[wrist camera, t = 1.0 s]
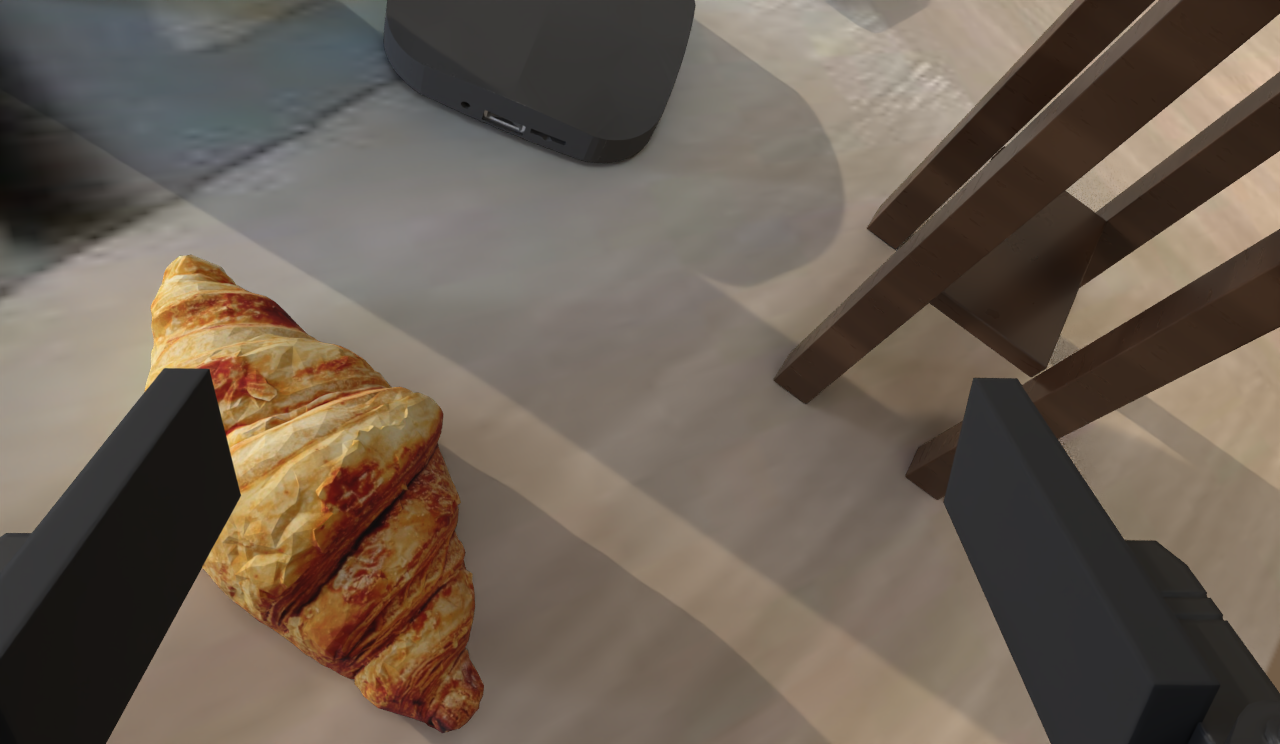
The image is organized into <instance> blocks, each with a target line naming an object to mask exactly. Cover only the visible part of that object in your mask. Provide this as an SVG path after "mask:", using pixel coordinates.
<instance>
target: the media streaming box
mask: <svg viewBox="0 0 1280 744" xmlns="http://www.w3.org/2000/svg"><path fill="white" fill-rule="evenodd" d="M694 11H695V0H387V8H386V17H385V26H384V48H385V52H386V55H387V57H388V60H389V62H390V64H391V65H392V67H393V68H394V70H395V71H396V73H397V74H398V75H399V76H400V77H401V78H402V79H403V80H404V81H405V82H406V83H407V84H408V85H409V86H410V87H412V88H413V89H414V90H416V91H417V92H419V93H420V94H422V95H425V96H427V97H429V98H431V99H433V100H435V101H437V102H440V103H442V104H444V105H446V106H448V107H450V108H453V109H455V110H457V111H459V112H462V113H464V114H466V115H468V116H471V117H473V118H475V119H478V120H480V121H482V122H485V123H487V124H489V125H492V126H494V127H496V128H499V129H501V130H504V131H506V132H509V133H511V134H513V135H516V136H518V137H521V138H523V139H526V140H529V141H531V142H534V143H536V144H539V145H541V146H544V147H547V148H549V149H552V150H555V151H557V152H560V153H563V154H566V155H568V156H571V157H574V158H577V159H580V160H582V161H587V162H595V163H610V162H616V161H620V160H624V159H627V158H629V157H631V156H633V155H635V154H636V153H638V152H639V151H640V150H641V149H642V148H643V147H644V146H645V145H646V144H647V143H648V141H649V139H650V138H651V136H652V134H653V132H654V130H655V128H656V126H657V124H658V122H659V120H660V118H661V116H662V114H663V111H664V109H665V106H666V104H667V101H668V99H669V96H670V94H671V91H672V89H673V86H674V83H675V80H676V78H677V75H678V72H679V69H680V66H681V63H682V60H683V56H684V53H685V50H686V46H687V43H688V39H689V35H690V31H691V26H692V22H693V17H694Z"/></svg>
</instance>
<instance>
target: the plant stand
mask: <svg viewBox="0 0 1280 744" xmlns="http://www.w3.org/2000/svg"><path fill="white" fill-rule="evenodd" d="M1154 1H1155V0H1075V1H1074V2H1073V3H1072V4H1071V5H1070V6H1069V7H1068V8H1067V9H1066V10H1065V11H1064V12H1063V13H1062V14H1061V16H1060V17H1059V18H1058V19H1057V20H1056V21H1055V22H1054V23H1053V24H1052V25H1051V26H1050V27H1049V28H1048V29H1047V30H1046V31H1045V32H1044V34H1043V35H1042V36H1041V37H1040V38H1039V39H1038V40H1037V41H1036V42H1035V43H1034V44H1033V45H1032V46H1031V47H1030V48H1029V49H1028V50H1027V52H1026V53H1025V54H1024V55H1023V56H1022V57H1021V58H1020V59H1019V60H1018V61H1017V62H1016V63H1015V64H1014V65H1013V66H1012V67H1011V68H1010V70H1009V71H1008V72H1007V73H1006V74H1005V75H1004V76H1003V77H1002V78H1001V79H1000V80H999V81H998V82H997V83H996V84H995V85H994V86H993V88H992V89H991V90H990V91H989V92H988V93H987V94H986V95H985V96H984V97H983V98H982V99H981V100H980V101H979V102H978V103H977V104H976V106H975V107H974V108H973V109H972V110H971V111H970V112H969V113H968V114H967V115H966V116H965V117H964V118H963V119H962V120H961V121H960V122H959V124H958V125H957V126H956V127H955V128H954V129H953V130H952V131H951V132H950V133H949V134H948V135H947V136H946V137H945V138H944V139H943V140H942V142H941V143H940V144H939V145H938V146H937V147H936V148H935V149H934V150H933V151H932V152H931V153H930V154H929V155H928V156H927V157H926V158H925V160H924V161H923V162H922V163H921V164H920V165H919V166H918V167H917V168H916V169H915V170H914V171H913V172H912V173H911V174H910V175H909V176H908V178H907V179H906V180H905V181H904V182H903V183H902V184H901V185H900V186H899V187H898V188H897V189H896V190H895V191H894V192H893V193H892V194H891V196H890V197H889V198H888V199H887V200H886V201H885V202H884V203H883V204H882V205H881V206H880V208H879V209H878V211H877V212H876V214H875V216H874V217H873V219H872V221H871V222H870V224H869V225H868V227H867V229H869V230H870V231H871V232H873V233H874V234H875V235H877V236H878V237H879V238H881V239H882V240H883V241H885V242H886V243H888V244H889V245H890V246H892V247H893V248H894V249H897V248H898V247H899V246H900V245H901V244H902V243H903V242H904V241H905V240H906V239H907V238H908V237H909V236H910V235H911V234H912V233H913V232H914V231H915V230H916V229H917V228H918V227H919V226H920V225H922V224H923V223H924V222H925V221H926V220H927V219H928V218H929V217H930V216H931V215H932V214H933V213H934V212H935V211H936V210H937V209H938V208H939V207H940V206H941V205H942V204H943V203H944V202H945V201H947V200H948V199H949V198H950V197H951V196H952V195H953V194H954V193H955V192H956V191H957V190H958V189H959V188H960V187H961V186H962V185H963V184H964V183H965V182H966V181H967V180H968V179H969V178H970V177H972V176H973V175H974V174H975V173H976V172H977V171H978V170H979V169H980V168H981V167H982V166H983V165H984V164H985V163H986V162H987V161H988V160H989V159H990V158H991V157H992V156H993V155H994V154H995V153H996V154H995V155H994V156H993V157H992V159H991V161H990V162H989V163H988V164H987V165H986V166H985V167H984V168H983V169H982V170H981V171H980V172H979V173H978V174H977V175H976V176H975V177H974V178H973V179H972V180H971V181H970V182H969V183H967V184H966V185H965V186H964V187H963V188H962V189H961V190H960V191H959V192H958V193H957V194H956V195H955V196H954V197H953V198H952V199H951V200H950V201H949V202H948V203H947V204H945V205H944V206H943V207H942V208H941V209H940V210H939V211H938V212H937V213H936V214H935V215H934V216H933V217H932V218H931V219H930V220H929V221H928V222H927V223H926V224H925V225H923V226H922V227H921V228H920V229H919V230H918V231H917V232H916V233H915V234H914V235H913V236H912V237H911V238H910V239H909V240H908V241H907V242H906V243H905V244H904V245H903V246H902V247H900V248H899V249H898V250H897V251H896V252H895V253H894V254H893V255H892V256H891V257H890V258H889V259H888V260H887V261H886V262H885V263H884V264H883V265H882V266H881V267H880V268H878V269H877V270H876V271H875V272H874V273H873V274H872V275H871V276H870V277H869V278H868V279H867V280H866V281H865V282H864V283H863V284H862V285H861V286H860V287H859V288H858V289H857V290H855V291H854V292H853V293H852V294H851V295H850V296H849V297H848V298H847V299H846V300H845V301H844V302H843V303H842V304H841V305H840V306H839V307H838V308H837V309H836V310H835V311H833V312H832V313H831V314H830V315H829V316H828V317H827V318H826V319H825V320H824V321H823V322H822V323H821V324H820V325H819V326H818V327H817V328H816V329H815V330H814V331H813V332H811V333H810V334H809V335H808V336H807V337H806V338H805V339H804V340H803V341H802V342H801V343H800V344H799V345H798V346H797V347H796V348H795V349H794V350H793V351H792V352H791V353H790V354H789V356H788V357H787V359H786V361H785V362H784V364H783V365H782V367H781V369H780V370H779V372H778V374H777V375H776V377H775V378H774V381H775V382H776V383H778V384H779V385H780V386H782V387H783V388H784V389H786V390H787V391H789V392H790V393H791V394H793V395H794V396H795V397H797V398H798V399H799V400H801V401H802V402H804V403H805V404H807V403H808V402H809V401H810V400H812V399H813V398H814V397H815V396H817V395H818V394H819V393H820V392H821V391H823V390H824V389H825V388H826V387H827V386H829V385H830V384H831V383H832V382H834V381H835V380H836V379H837V378H838V377H840V376H841V375H842V374H843V373H844V372H846V371H847V370H848V369H849V368H850V367H852V366H853V365H854V364H855V363H857V362H858V361H859V360H860V359H861V358H863V357H864V356H865V355H866V354H867V353H869V352H870V351H871V350H872V349H874V348H875V347H876V346H877V345H878V344H880V343H881V342H882V341H883V340H884V339H886V338H887V337H888V336H889V335H891V334H892V333H893V332H894V331H895V330H897V329H898V328H899V327H900V326H901V325H903V324H904V323H905V322H906V321H908V320H909V319H910V318H911V317H912V316H914V315H915V314H916V313H917V312H918V311H920V310H921V309H922V308H923V307H924V306H926V305H927V304H928V303H930V304H931V305H933V306H934V307H936V308H937V309H938V310H940V311H941V312H942V313H944V314H945V315H946V316H948V317H949V318H951V319H952V320H953V321H955V322H956V323H957V324H959V325H960V326H961V327H963V328H964V329H966V330H967V331H968V332H970V333H971V334H972V335H974V336H975V337H976V338H978V339H979V340H980V341H982V342H983V343H985V344H986V345H987V346H989V347H990V348H991V349H993V350H994V351H995V352H997V353H998V354H1000V355H1001V356H1002V357H1004V358H1005V359H1006V360H1008V361H1009V362H1010V363H1012V364H1013V365H1015V366H1016V367H1017V368H1019V369H1020V370H1021V371H1023V372H1024V373H1025V374H1027V375H1028V376H1030V377H1033V376H1035V375H1036V374H1038V373H1040V372H1041V371H1043V370H1045V369H1046V368H1047V365H1048V363H1049V360H1050V358H1051V355H1052V353H1053V351H1054V348H1055V346H1056V343H1057V341H1058V338H1059V336H1060V334H1061V331H1062V329H1063V326H1064V324H1065V321H1066V319H1067V316H1068V314H1069V312H1070V309H1071V307H1072V304H1073V302H1074V299H1075V297H1076V294H1077V292H1078V290H1079V288H1080V287H1082V286H1083V285H1085V284H1086V283H1087V282H1089V281H1090V280H1092V279H1093V278H1095V277H1096V276H1098V275H1099V274H1101V273H1102V272H1104V271H1105V270H1106V269H1108V268H1109V267H1111V266H1112V265H1114V264H1115V263H1117V262H1118V261H1120V260H1121V259H1122V258H1124V257H1125V256H1127V255H1128V254H1130V253H1131V252H1133V251H1134V250H1136V249H1137V248H1139V247H1140V246H1141V245H1143V244H1144V243H1146V242H1147V241H1149V240H1150V239H1152V238H1153V237H1155V236H1156V235H1158V234H1159V233H1160V232H1162V231H1163V230H1165V229H1166V228H1168V227H1169V226H1171V225H1172V224H1174V223H1175V222H1177V221H1178V220H1179V219H1181V218H1182V217H1184V216H1185V215H1187V214H1188V213H1190V212H1191V211H1193V210H1194V209H1196V208H1197V207H1198V206H1200V205H1201V204H1203V203H1204V202H1206V201H1207V200H1209V199H1210V198H1212V197H1213V196H1215V195H1216V194H1217V193H1219V192H1220V191H1222V190H1223V189H1225V188H1226V187H1228V186H1229V185H1231V184H1232V183H1233V182H1235V181H1236V180H1238V179H1239V178H1241V177H1242V176H1244V175H1245V174H1247V173H1248V172H1250V171H1251V170H1252V169H1254V168H1255V167H1257V166H1258V165H1260V164H1261V163H1263V162H1264V161H1266V160H1267V159H1269V158H1270V157H1271V156H1273V155H1274V154H1276V153H1277V152H1279V151H1280V72H1279V73H1277V74H1276V75H1275V76H1274V77H1272V78H1271V79H1270V80H1268V81H1267V82H1266V83H1264V84H1263V85H1262V86H1260V87H1259V88H1258V89H1257V90H1255V91H1254V92H1253V93H1251V94H1250V95H1249V96H1247V97H1246V98H1245V99H1243V100H1242V101H1241V102H1240V103H1238V104H1237V105H1236V106H1234V107H1233V108H1232V109H1230V110H1229V111H1228V112H1227V113H1225V114H1224V115H1223V116H1221V117H1220V118H1219V119H1217V120H1216V121H1215V122H1213V123H1212V124H1211V125H1210V126H1208V127H1207V128H1206V129H1204V130H1203V131H1202V132H1200V133H1199V134H1198V135H1196V136H1195V137H1194V138H1193V139H1191V140H1190V141H1189V142H1187V143H1186V144H1185V145H1183V146H1182V147H1181V148H1179V149H1178V150H1177V151H1176V152H1174V153H1173V154H1172V155H1170V156H1169V157H1168V158H1166V159H1165V160H1164V161H1162V162H1161V163H1160V164H1159V165H1157V166H1156V167H1155V168H1153V169H1152V170H1151V171H1149V172H1148V173H1147V174H1145V175H1144V176H1143V177H1142V178H1140V179H1139V180H1138V181H1136V182H1135V183H1134V184H1132V185H1131V186H1130V187H1128V188H1127V189H1126V190H1125V191H1123V192H1122V193H1121V194H1119V195H1118V196H1117V197H1115V198H1114V199H1113V200H1112V201H1110V202H1109V203H1108V204H1106V205H1105V206H1104V207H1102V208H1101V209H1100V210H1098V211H1097V212H1096V213H1095V212H1094V211H1092V210H1091V209H1090V208H1088V207H1087V206H1085V205H1084V204H1083V203H1081V202H1080V201H1079V200H1077V199H1076V198H1075V197H1073V196H1072V195H1071V194H1069V193H1068V192H1066V191H1065V190H1066V189H1068V188H1069V187H1070V186H1071V185H1072V184H1074V183H1075V182H1076V181H1077V180H1079V179H1080V178H1081V177H1082V176H1083V175H1085V174H1086V173H1087V172H1088V171H1089V170H1091V169H1092V168H1093V167H1094V166H1096V165H1097V164H1098V163H1099V162H1100V161H1102V160H1103V159H1104V158H1105V157H1106V156H1108V155H1109V154H1110V153H1111V152H1112V151H1114V150H1115V149H1116V148H1117V147H1119V146H1120V145H1121V144H1122V143H1123V142H1125V141H1126V140H1127V139H1128V138H1129V137H1131V136H1132V135H1133V134H1134V133H1136V132H1137V131H1138V130H1139V129H1140V128H1142V127H1143V126H1144V125H1145V124H1146V123H1148V122H1149V121H1150V120H1151V119H1153V118H1154V117H1155V116H1156V115H1157V114H1159V113H1160V112H1161V111H1162V110H1163V109H1165V108H1166V107H1167V106H1168V105H1169V104H1171V103H1172V102H1173V101H1174V100H1176V99H1177V98H1178V97H1179V96H1180V95H1182V94H1183V93H1184V92H1185V91H1186V90H1188V89H1189V88H1190V87H1191V86H1193V85H1194V84H1195V83H1196V82H1197V81H1199V80H1200V79H1201V78H1202V77H1203V76H1205V75H1206V74H1207V73H1208V72H1210V71H1211V70H1212V69H1213V68H1214V67H1216V66H1217V65H1218V64H1219V63H1220V62H1222V61H1223V60H1224V59H1225V58H1227V57H1228V56H1229V55H1230V54H1231V53H1233V52H1234V51H1235V50H1236V49H1237V48H1239V47H1240V46H1241V45H1242V44H1243V43H1245V42H1246V41H1247V40H1248V39H1250V38H1251V37H1252V36H1253V35H1254V34H1256V33H1257V32H1258V31H1259V30H1260V29H1262V28H1263V27H1264V26H1265V25H1267V24H1268V23H1269V22H1270V21H1271V20H1273V19H1274V18H1275V17H1276V16H1277V15H1279V14H1280V0H1159V1H1158V2H1157V3H1156V4H1155V5H1154V6H1153V7H1152V8H1151V9H1150V10H1149V11H1148V12H1146V13H1145V14H1144V15H1143V16H1142V17H1141V18H1140V19H1139V20H1138V21H1137V22H1136V23H1135V24H1134V25H1133V26H1132V27H1131V28H1130V29H1129V30H1128V31H1127V32H1126V33H1124V34H1123V35H1122V36H1121V37H1120V38H1119V39H1118V40H1117V41H1116V42H1115V43H1114V44H1113V45H1112V46H1111V47H1110V48H1109V49H1108V50H1107V51H1106V52H1105V53H1104V54H1103V55H1101V56H1100V57H1099V58H1098V59H1097V60H1096V61H1095V62H1094V63H1093V64H1092V65H1091V66H1090V67H1089V68H1088V69H1087V70H1086V71H1085V72H1084V73H1083V74H1082V75H1081V76H1079V77H1078V78H1077V79H1076V80H1075V81H1074V82H1073V83H1072V84H1071V85H1070V86H1069V87H1068V88H1067V89H1066V90H1065V91H1064V92H1063V93H1062V94H1061V95H1060V96H1059V97H1057V98H1056V99H1055V100H1054V101H1053V102H1052V103H1051V104H1050V105H1049V106H1048V107H1047V108H1046V109H1045V110H1044V111H1043V112H1042V113H1041V114H1040V115H1039V116H1038V117H1037V118H1036V119H1034V120H1033V121H1032V122H1031V123H1030V124H1029V125H1028V126H1027V127H1026V128H1025V129H1024V130H1023V131H1022V132H1021V133H1020V134H1019V135H1018V136H1017V137H1016V138H1015V139H1014V140H1012V141H1011V142H1010V143H1009V144H1008V145H1007V146H1006V147H1005V146H1004V145H1005V144H1006V143H1007V142H1008V141H1009V140H1010V139H1011V138H1012V137H1013V136H1014V135H1015V134H1016V133H1017V132H1018V131H1019V130H1020V129H1022V128H1023V127H1024V126H1025V125H1026V124H1027V123H1028V122H1029V121H1030V120H1031V119H1032V118H1033V117H1034V116H1035V115H1036V114H1037V113H1038V112H1039V111H1040V110H1041V109H1042V108H1043V107H1044V106H1045V105H1047V104H1048V103H1049V102H1050V101H1051V100H1052V99H1053V98H1054V97H1055V96H1056V95H1057V94H1058V93H1059V92H1060V91H1061V90H1062V89H1063V88H1064V87H1065V86H1066V85H1067V84H1068V83H1069V82H1070V81H1072V80H1073V79H1074V78H1075V77H1076V76H1077V75H1078V74H1079V73H1080V72H1081V71H1082V70H1083V69H1084V68H1085V67H1086V66H1087V65H1088V64H1089V63H1090V62H1091V61H1092V60H1093V59H1094V58H1095V57H1097V56H1098V55H1099V54H1100V53H1101V52H1102V51H1103V50H1104V49H1105V48H1106V47H1107V46H1108V45H1109V44H1110V43H1111V42H1112V41H1113V40H1114V39H1115V38H1116V37H1117V36H1118V35H1119V34H1121V33H1122V32H1123V31H1124V30H1125V29H1126V28H1127V27H1128V26H1129V25H1130V24H1131V23H1132V22H1133V21H1134V20H1135V19H1136V18H1137V17H1138V16H1139V15H1140V14H1141V13H1142V12H1143V11H1144V10H1146V9H1147V8H1148V7H1149V6H1150V5H1151V4H1152V3H1153V2H1154ZM1003 146H1004V147H1003ZM1002 147H1003V148H1002ZM1001 148H1002V149H1001ZM1000 149H1001V150H1000ZM999 150H1000V151H999ZM998 151H999V152H998ZM1279 327H1280V229H1279V230H1277V231H1276V232H1274V233H1272V234H1271V235H1269V236H1267V237H1266V238H1264V239H1263V240H1261V241H1259V242H1258V243H1256V244H1254V245H1253V246H1251V247H1249V248H1248V249H1246V250H1244V251H1243V252H1241V253H1239V254H1238V255H1236V256H1234V257H1233V258H1231V259H1229V260H1228V261H1226V262H1225V263H1223V264H1221V265H1220V266H1218V267H1216V268H1215V269H1213V270H1211V271H1210V272H1208V273H1206V274H1205V275H1203V276H1201V277H1200V278H1198V279H1196V280H1195V281H1193V282H1191V283H1190V284H1188V285H1187V286H1185V287H1183V288H1182V289H1180V290H1178V291H1177V292H1175V293H1173V294H1172V295H1170V296H1168V297H1167V298H1165V299H1163V300H1162V301H1160V302H1158V303H1157V304H1155V305H1153V306H1152V307H1150V308H1148V309H1147V310H1145V311H1144V312H1142V313H1140V314H1139V315H1137V316H1135V317H1134V318H1132V319H1130V320H1129V321H1127V322H1125V323H1124V324H1122V325H1120V326H1119V327H1117V328H1115V329H1114V330H1112V331H1110V332H1109V333H1107V334H1106V335H1104V336H1102V337H1101V338H1099V339H1097V340H1096V341H1094V342H1092V343H1091V344H1089V345H1087V346H1086V347H1084V348H1082V349H1081V350H1079V351H1077V352H1076V353H1074V354H1072V355H1071V356H1069V357H1067V358H1066V359H1064V360H1063V361H1061V362H1059V363H1058V364H1056V365H1054V366H1053V367H1051V368H1049V369H1048V370H1046V371H1044V372H1043V373H1041V374H1039V375H1038V376H1036V377H1034V378H1033V379H1031V380H1029V381H1028V382H1026V383H1025V384H1023V385H1022V387H1023V388H1024V390H1025V391H1026V393H1027V394H1028V396H1029V397H1030V399H1031V400H1032V402H1033V403H1034V405H1035V406H1036V408H1037V409H1038V411H1039V412H1040V414H1041V415H1042V417H1043V418H1044V420H1045V421H1046V423H1047V424H1048V426H1049V427H1050V429H1051V430H1052V432H1053V433H1054V435H1055V436H1056V438H1057V439H1059V438H1061V437H1063V436H1065V435H1067V434H1069V433H1071V432H1073V431H1075V430H1077V429H1079V428H1081V427H1083V426H1085V425H1087V424H1089V423H1091V422H1093V421H1094V420H1096V419H1098V418H1100V417H1102V416H1104V415H1106V414H1108V413H1110V412H1112V411H1114V410H1116V409H1118V408H1120V407H1122V406H1124V405H1126V404H1128V403H1130V402H1132V401H1134V400H1136V399H1138V398H1140V397H1142V396H1144V395H1146V394H1148V393H1150V392H1152V391H1154V390H1156V389H1158V388H1160V387H1162V386H1164V385H1166V384H1168V383H1170V382H1172V381H1174V380H1176V379H1178V378H1180V377H1182V376H1184V375H1186V374H1187V373H1189V372H1191V371H1193V370H1195V369H1197V368H1199V367H1201V366H1203V365H1205V364H1207V363H1209V362H1211V361H1213V360H1215V359H1217V358H1219V357H1221V356H1223V355H1225V354H1227V353H1229V352H1231V351H1233V350H1235V349H1237V348H1239V347H1241V346H1243V345H1245V344H1247V343H1249V342H1251V341H1253V340H1255V339H1257V338H1259V337H1261V336H1263V335H1265V334H1267V333H1269V332H1271V331H1273V330H1275V329H1277V328H1279ZM962 423H963V421H962V422H960V423H958V424H957V425H955V426H953V427H952V428H950V429H948V430H947V431H945V432H944V433H942V434H940V435H939V436H937V437H935V438H934V439H932V440H930V441H929V442H927V443H925V444H924V445H922V446H920V447H919V449H918V451H917V453H916V455H915V457H914V459H913V461H912V463H911V465H910V467H909V470H908V472H907V474H906V477H907V478H908V479H909V480H911V481H912V482H913V483H915V484H916V485H917V486H919V487H920V488H922V489H923V490H924V491H926V492H927V493H928V494H930V495H931V496H933V497H934V498H935V499H937V500H938V499H940V498H942V497H944V496H945V494H946V490H947V486H948V481H949V477H950V473H951V469H952V465H953V461H954V457H955V452H956V448H957V444H958V440H959V436H960V432H961V427H962Z"/></svg>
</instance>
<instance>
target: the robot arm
mask: <svg viewBox="0 0 1280 744" xmlns="http://www.w3.org/2000/svg"><path fill="white" fill-rule="evenodd" d="M240 497H241V493H240V489H239V485H238V481H237V477H236V473H235V469H234V465H233V461H232V457H231V453H230V449H229V445H228V441H227V437H226V433H225V429H224V425H223V421H222V417H221V413H220V409H219V405H218V401H217V397H216V393H215V389H214V385H213V381H212V377H211V373H210V369H195V368H164V369H163V370H162V371H161V372H160V374H159V375H158V376H157V377H156V379H155V380H154V381H153V382H152V384H151V385H150V386H149V387H148V389H147V390H146V391H145V392H144V394H143V395H142V396H141V397H140V399H139V400H138V401H137V402H136V404H135V405H134V406H133V407H132V409H131V410H130V411H129V412H128V414H127V415H126V416H125V417H124V419H123V420H122V421H121V422H120V424H119V425H118V426H117V427H116V429H115V430H114V431H113V432H112V434H111V435H110V436H109V437H108V439H107V440H106V441H105V442H104V444H103V445H102V446H101V447H100V449H99V450H98V451H97V452H96V454H95V455H94V456H93V457H92V459H91V460H90V461H89V462H88V464H87V465H86V466H85V467H84V469H83V470H82V471H81V472H80V474H79V475H78V476H77V477H76V479H75V480H74V481H73V482H72V484H71V485H70V486H69V487H68V489H67V490H66V491H65V492H64V494H63V495H62V496H61V497H60V499H59V500H58V501H57V502H56V504H55V505H54V506H53V507H52V509H51V510H50V511H49V512H48V514H47V515H46V516H45V517H44V519H43V520H42V521H41V522H40V524H39V525H38V526H37V527H36V529H35V530H34V531H33V532H32V533H6V534H4V535H3V536H1V537H0V744H106V742H107V741H108V739H109V737H110V735H111V733H112V731H113V730H114V728H115V726H116V724H117V722H118V720H119V719H120V717H121V715H122V713H123V711H124V709H125V708H126V706H127V704H128V702H129V700H130V698H131V697H132V695H133V693H134V691H135V689H136V687H137V686H138V684H139V682H140V680H141V678H142V677H143V675H144V673H145V671H146V669H147V667H148V666H149V664H150V662H151V660H152V658H153V656H154V655H155V653H156V651H157V649H158V647H159V645H160V644H161V642H162V640H163V638H164V636H165V634H166V633H167V631H168V629H169V627H170V625H171V623H172V622H173V620H174V618H175V616H176V614H177V612H178V611H179V609H180V607H181V605H182V603H183V601H184V600H185V598H186V596H187V594H188V592H189V590H190V589H191V587H192V585H193V583H194V581H195V579H196V578H197V576H198V574H199V572H200V570H201V568H202V567H203V565H204V563H205V561H206V559H207V557H208V556H209V554H210V552H211V550H212V548H213V546H214V545H215V543H216V541H217V539H218V537H219V535H220V534H221V532H222V530H223V528H224V526H225V524H226V523H227V521H228V519H229V517H230V515H231V513H232V512H233V510H234V508H235V506H236V504H237V502H238V501H239V499H240ZM944 505H945V507H946V509H947V511H948V514H949V516H950V518H951V520H952V523H953V525H954V527H955V529H956V532H957V534H958V536H959V538H960V540H961V543H962V545H963V547H964V549H965V552H966V554H967V556H968V558H969V561H970V563H971V565H972V567H973V570H974V572H975V574H976V576H977V579H978V581H979V583H980V585H981V588H982V590H983V592H984V594H985V597H986V599H987V601H988V603H989V606H990V608H991V610H992V612H993V615H994V617H995V619H996V621H997V624H998V626H999V628H1000V630H1001V633H1002V635H1003V637H1004V639H1005V642H1006V644H1007V646H1008V648H1009V650H1010V653H1011V655H1012V657H1013V659H1014V662H1015V664H1016V666H1017V668H1018V671H1019V673H1020V675H1021V677H1022V680H1023V682H1024V684H1025V686H1026V689H1027V691H1028V693H1029V695H1030V698H1031V700H1032V702H1033V704H1034V707H1035V709H1036V711H1037V713H1038V716H1039V718H1040V720H1041V722H1042V725H1043V727H1044V729H1045V731H1046V734H1047V736H1048V738H1049V740H1050V743H1051V744H1280V693H1279V692H1278V690H1277V689H1276V688H1275V686H1274V685H1273V684H1272V682H1271V681H1270V679H1269V678H1268V676H1267V675H1266V674H1265V672H1264V671H1263V670H1262V668H1261V667H1260V665H1259V664H1258V663H1257V661H1256V660H1255V658H1254V657H1253V656H1252V654H1251V653H1250V652H1249V650H1248V649H1247V647H1246V646H1245V645H1244V643H1243V642H1242V640H1241V639H1240V638H1239V636H1238V635H1237V634H1236V632H1235V631H1234V629H1233V628H1232V627H1231V625H1230V624H1229V623H1228V621H1224V620H1223V614H1222V613H1221V611H1220V610H1219V609H1218V607H1217V606H1216V605H1215V603H1214V602H1213V600H1212V599H1211V598H1207V595H1206V594H1207V592H1206V591H1205V589H1204V588H1203V587H1202V585H1201V584H1200V582H1199V581H1198V580H1197V578H1196V577H1195V576H1194V574H1193V573H1192V571H1191V570H1190V569H1189V567H1188V566H1187V565H1186V564H1185V563H1184V562H1182V561H1181V560H1180V559H1179V558H1177V557H1176V556H1175V555H1173V554H1172V553H1171V552H1170V551H1168V550H1167V549H1166V548H1164V547H1163V546H1162V545H1161V544H1159V543H1158V542H1157V541H1135V540H1124V539H1123V537H1122V536H1121V534H1120V533H1119V531H1118V530H1117V528H1116V527H1115V525H1114V524H1113V522H1112V521H1111V519H1110V518H1109V516H1108V515H1107V513H1106V512H1105V510H1104V509H1103V507H1102V506H1101V504H1100V503H1099V501H1098V500H1097V498H1096V497H1095V495H1094V493H1093V492H1092V490H1091V489H1090V487H1089V486H1088V484H1087V483H1086V481H1085V480H1084V478H1083V477H1082V475H1081V474H1080V472H1079V471H1078V469H1077V468H1076V466H1075V465H1074V463H1073V462H1072V460H1071V459H1070V457H1069V456H1068V454H1067V453H1066V451H1065V450H1064V448H1063V447H1062V445H1061V444H1060V442H1059V441H1058V439H1057V438H1056V436H1055V435H1054V433H1053V432H1052V430H1051V429H1050V427H1049V426H1048V424H1047V423H1046V421H1045V420H1044V418H1043V417H1042V415H1041V414H1040V412H1039V411H1038V409H1037V408H1036V406H1035V405H1034V403H1033V402H1032V400H1031V399H1030V397H1029V396H1028V394H1027V393H1026V391H1025V390H1024V388H1023V387H1022V385H1021V384H1020V382H1019V381H1018V379H1014V378H973V382H972V386H971V390H970V394H969V398H968V402H967V407H966V411H965V415H964V419H963V423H962V427H961V432H960V436H959V440H958V444H957V448H956V452H955V457H954V461H953V465H952V469H951V473H950V477H949V481H948V486H947V490H946V494H945V498H944Z"/></svg>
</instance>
